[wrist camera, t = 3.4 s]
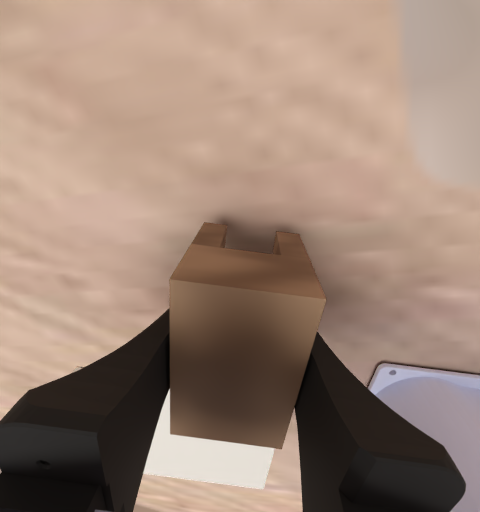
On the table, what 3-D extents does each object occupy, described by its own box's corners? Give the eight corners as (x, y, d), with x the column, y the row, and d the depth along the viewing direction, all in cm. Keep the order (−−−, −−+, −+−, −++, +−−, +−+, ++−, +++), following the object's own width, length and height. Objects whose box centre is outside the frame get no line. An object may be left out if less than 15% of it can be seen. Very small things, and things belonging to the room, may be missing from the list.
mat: (287, 394, 22) (288, 400, 22) (263, 482, 28) (263, 489, 28) (76, 366, 22) (72, 372, 22) (96, 460, 28) (93, 467, 28)
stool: (299, 234, 14) (326, 299, 8) (273, 349, 17) (281, 449, 12) (204, 222, 14) (169, 279, 8) (198, 339, 17) (170, 434, 12)
